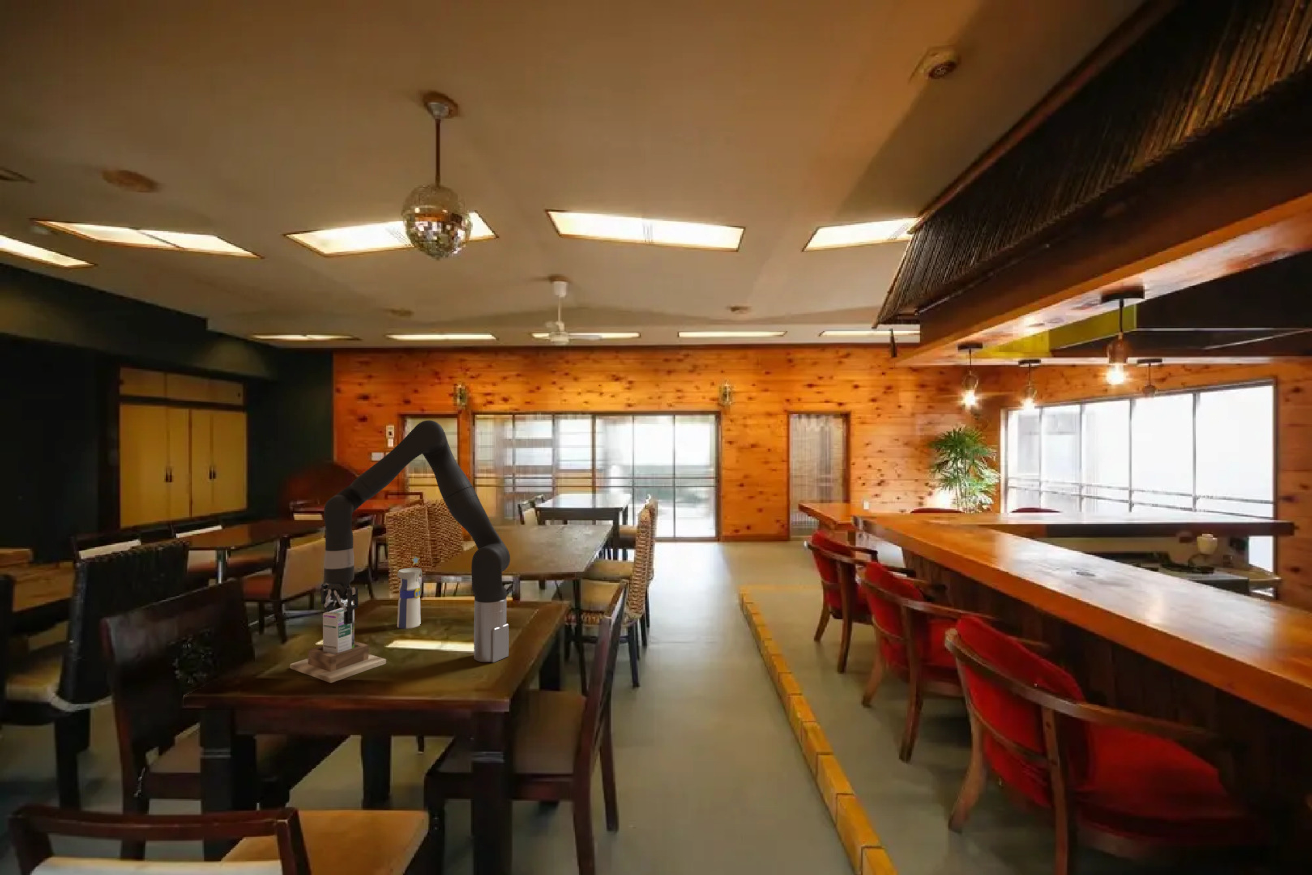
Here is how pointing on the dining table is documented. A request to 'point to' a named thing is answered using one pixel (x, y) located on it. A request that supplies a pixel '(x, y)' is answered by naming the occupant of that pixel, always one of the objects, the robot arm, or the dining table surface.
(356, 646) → the collar board
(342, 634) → the syrup box
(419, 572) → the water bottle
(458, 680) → the dining table surface
